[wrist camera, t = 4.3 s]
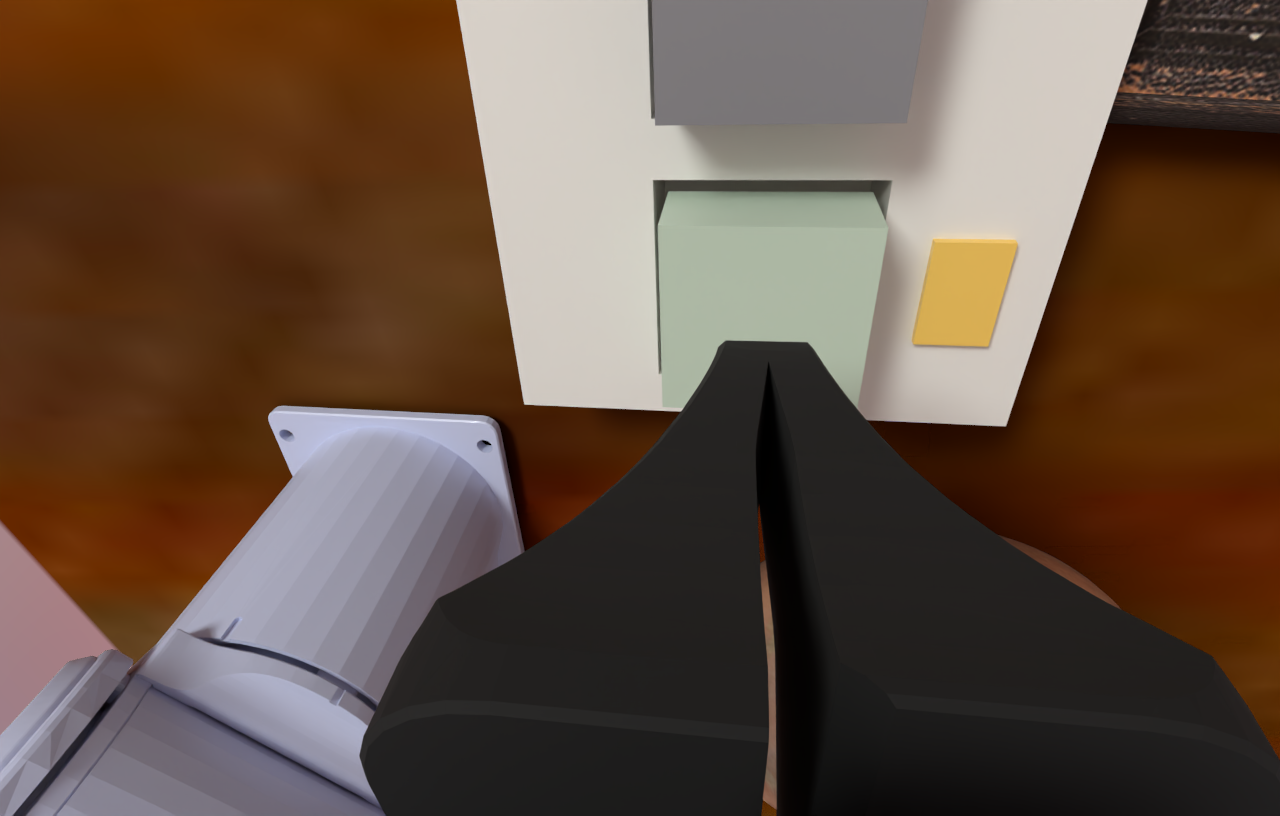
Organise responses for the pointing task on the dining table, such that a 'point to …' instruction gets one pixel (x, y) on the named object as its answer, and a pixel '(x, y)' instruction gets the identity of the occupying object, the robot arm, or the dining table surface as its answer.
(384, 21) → the dining table surface
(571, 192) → the white flat block
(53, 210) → the dining table surface
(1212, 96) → the hardcover book
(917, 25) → the key charcoal
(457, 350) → the dining table surface
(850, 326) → the key sage
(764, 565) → the ceramic jug
